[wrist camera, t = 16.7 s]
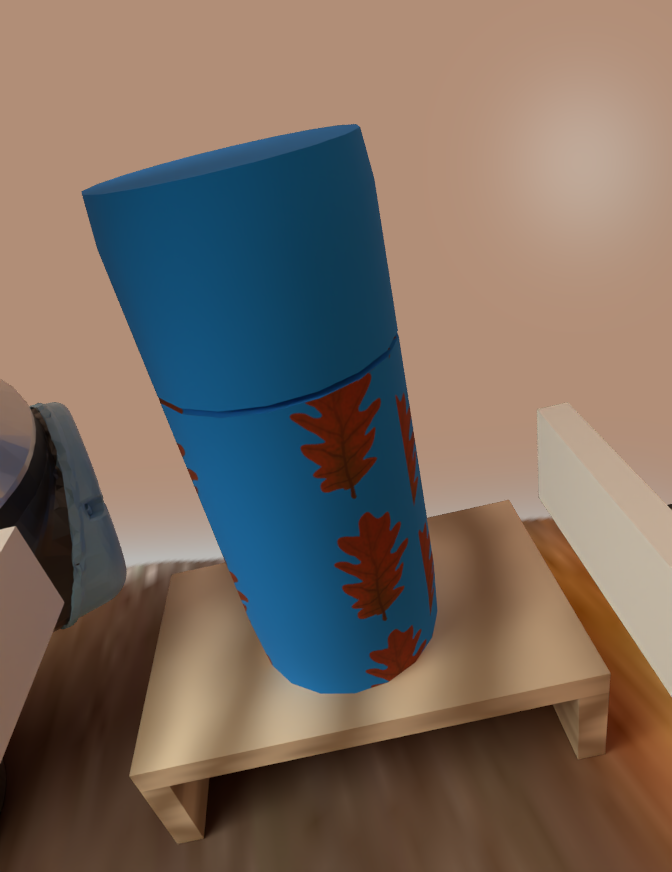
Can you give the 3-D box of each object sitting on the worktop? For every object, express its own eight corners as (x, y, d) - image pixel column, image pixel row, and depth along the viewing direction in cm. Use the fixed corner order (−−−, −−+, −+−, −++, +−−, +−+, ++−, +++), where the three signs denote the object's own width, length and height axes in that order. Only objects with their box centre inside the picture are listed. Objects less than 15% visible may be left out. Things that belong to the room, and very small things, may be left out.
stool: (177, 844, 32) (129, 776, 28) (203, 640, 44) (171, 574, 41) (604, 753, 32) (610, 673, 28) (513, 572, 44) (508, 499, 40)
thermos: (240, 593, 38) (75, 185, 25) (387, 528, 40) (305, 126, 27) (294, 735, 29) (77, 209, 16) (478, 639, 31) (420, 118, 18)
